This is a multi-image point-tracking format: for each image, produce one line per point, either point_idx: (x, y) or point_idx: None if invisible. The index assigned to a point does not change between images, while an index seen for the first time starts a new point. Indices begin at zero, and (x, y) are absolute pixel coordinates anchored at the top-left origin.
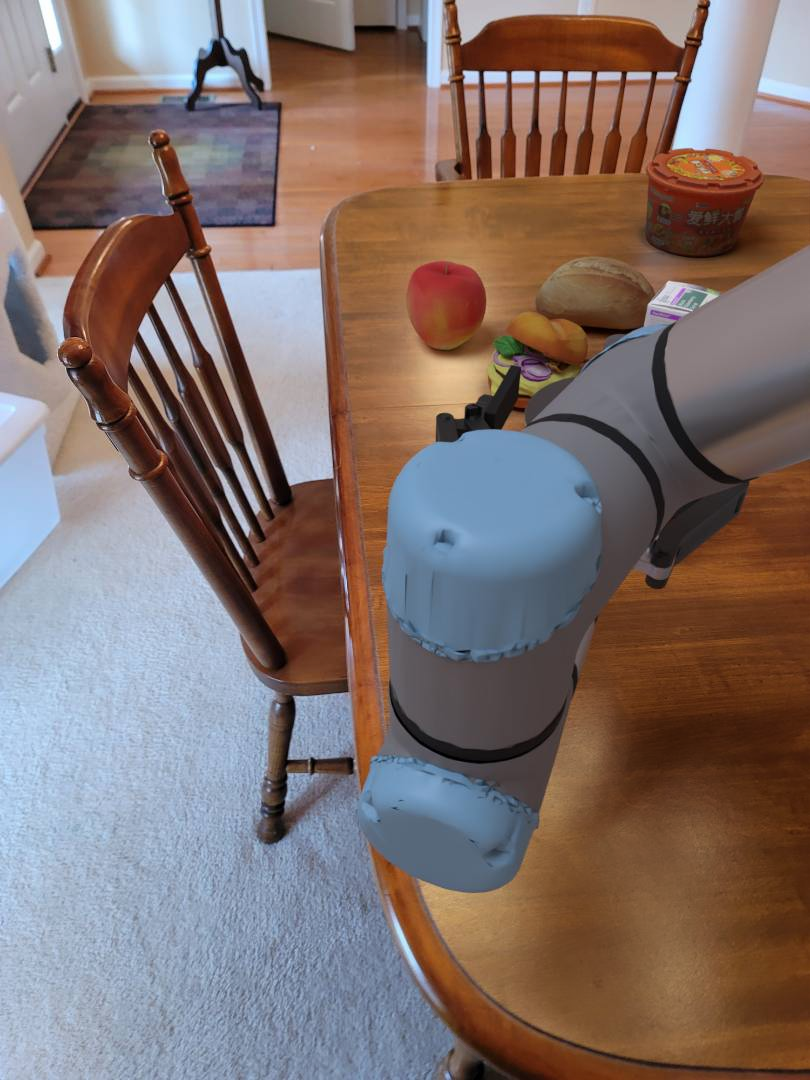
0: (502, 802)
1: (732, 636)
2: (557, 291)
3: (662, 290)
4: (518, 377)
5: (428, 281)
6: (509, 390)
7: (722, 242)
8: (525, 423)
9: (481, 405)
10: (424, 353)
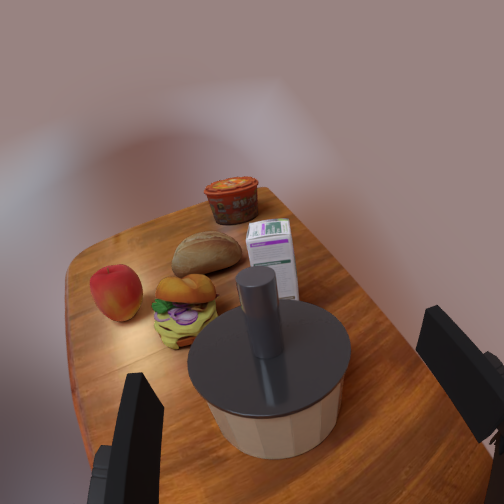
0: None
1: (435, 450)
2: (181, 259)
3: (249, 229)
4: (145, 390)
5: (97, 282)
6: (134, 433)
7: (253, 211)
8: (193, 385)
9: (101, 475)
10: (116, 326)
